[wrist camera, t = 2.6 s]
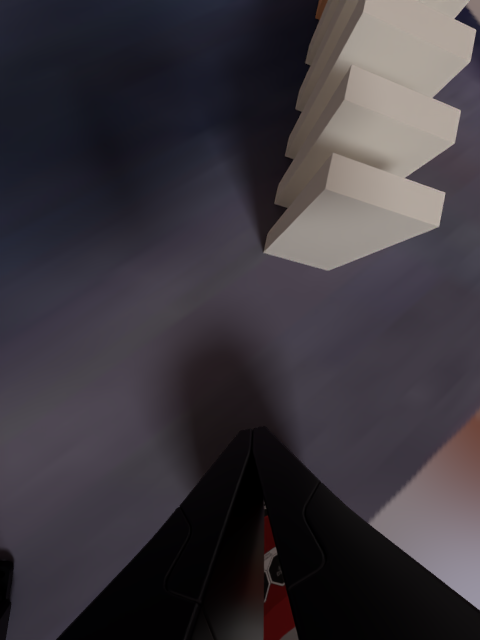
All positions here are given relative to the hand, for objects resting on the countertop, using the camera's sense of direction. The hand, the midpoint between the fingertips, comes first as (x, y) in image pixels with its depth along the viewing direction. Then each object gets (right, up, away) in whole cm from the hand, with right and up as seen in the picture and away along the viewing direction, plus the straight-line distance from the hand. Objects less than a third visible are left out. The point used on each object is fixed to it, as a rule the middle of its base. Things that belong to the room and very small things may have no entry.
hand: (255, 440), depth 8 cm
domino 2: (+5, +13, +13) cm, 19 cm away
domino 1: (+4, +9, +13) cm, 16 cm away
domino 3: (+6, +17, +13) cm, 22 cm away
